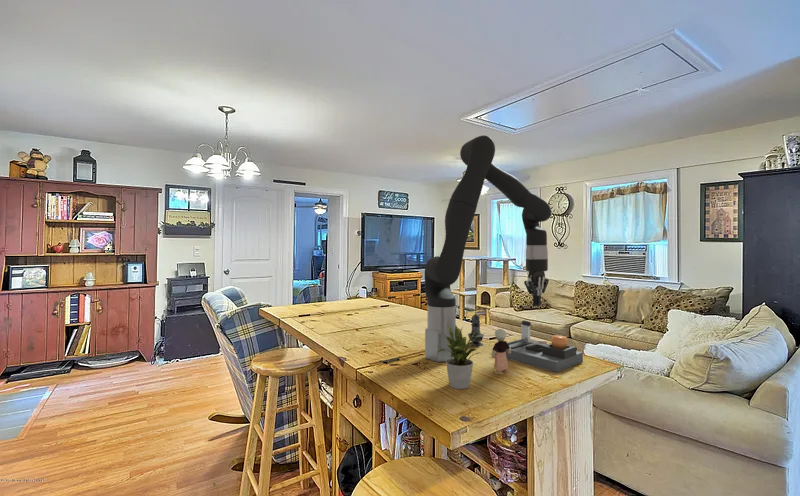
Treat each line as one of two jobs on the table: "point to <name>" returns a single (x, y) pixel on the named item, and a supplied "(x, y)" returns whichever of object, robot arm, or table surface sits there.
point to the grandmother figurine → (500, 352)
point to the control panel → (544, 355)
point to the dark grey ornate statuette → (476, 328)
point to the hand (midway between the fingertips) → (536, 305)
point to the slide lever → (525, 331)
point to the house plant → (459, 359)
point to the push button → (559, 341)
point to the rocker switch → (537, 341)
